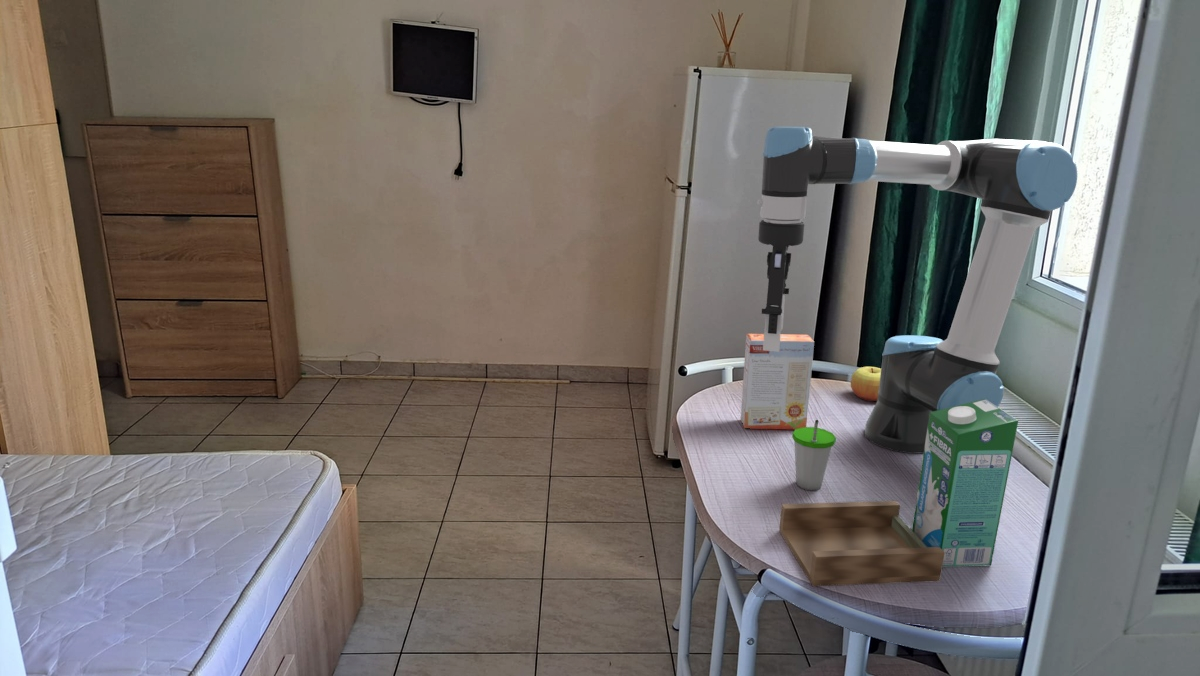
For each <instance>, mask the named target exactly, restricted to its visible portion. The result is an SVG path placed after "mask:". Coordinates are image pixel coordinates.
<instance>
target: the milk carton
mask: <svg viewBox="0 0 1200 676" xmlns="http://www.w3.org/2000/svg"><path fill="white" fill-rule="evenodd" d="M1018 425H1019V420H1018V419H1017V418H1015V417H1013V416H1012V414H1009V413H1007V412H1006V411H1005V410H1003V409H1001V408H1000V407H999V406H998V407H997V406H995V405H994V404H992V403H991V402H989V401H988V400H986V399H982V400H978V401H974V402H970V403H966V404H962V405H958V406H954V407H950V408H946V409H942V410H938V411H933V412H930V415H929V422H928V428H927V435H926V441H925V448H924V452H923V453H922V454H923V455H922V461H921V469H920V474H919V481H918V487H917V494H916V501H915V507H914V515H913V520H912V527H911V530H912V531H913V532H914V533H915V534H916V535H917V537H918V538H919V539H920V540H921V541H922V542H923V543H924V544H925V545H926V546H927V547H940V548H941V549H942V550H943V551H944V552H945V553H944V559H943V565H942V568H951V567H952V568H953V567H954V568H955V567H982V566H983V567H985V566H986V567H989V566H991V565H992V561H993V558H994V557H993V556H994V551H995V546H996V542H997V540H996V539H997V535H998V531H999V526H1000V525H999V524H1000V520H1001V514H1002V509H1003V505H1004V498H1005V492H1006V488H1007V483H1008V479H1009V478H1008V477H1009V473H1010V472H1009V471H1010V467H1011V462H1012V456H1013V451H1014V450H1013V449H1014V445H1015V441H1016V434H1017V430H1018Z"/></svg>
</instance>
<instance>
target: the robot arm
mask: <svg viewBox="0 0 1200 676" xmlns="http://www.w3.org/2000/svg"><path fill="white" fill-rule="evenodd" d="M763 147H764V148H763V153H762V157H763V162H762V181H761V183H762V184H761V199H757V202H756V204H757V205H758V206H761V207H760V210H759V211H760V213H759V216H760V218H761V220H760V222H759V223H758V235H757V237H758V239H757V240H758V241H759V242H760V244H763V245H767V246H768V245H770V246H772V251H768V253H767V256H766V257H767V258H766V265H767V269H766V270H767V271H766V277H767V279H768V284H767V294H766V304H765V305H766V306H765V308H761V315H764V328H763V329H764V332H763V334H764V341H763V350H764V351H776V352H779V347H780V334H782V333H781V332H782V331H783V326H784V316H785V315H784V314H785V300H786V295H789V294H790V293H789V292H790V288H786V287H787V284H786V280H788V276H789V269H790V267H791V261H792V253H791V252H789V251H788V249H789V247H790V246H791V247H796V246H799V245H801V244H803V242H804V235H805V234H804V232H805V231H804V230H805V223H804V222H803V220H804V219H805V218H806V213H807V201H808V195H807V194H808V187H809V185H817V184H818V185H819V184H822V185H827V184H828V185H831V184H833V185H834V184H837V185H839V184H840V185H841V184H842V185H843V184H847V185H851V186H852V185H853V184H859V183H865V182H880V183H881V182H882V183H883V182H884V183H898V184H899V183H900V184H916V185H929V186H931V188H933V189H934V190H936V191H944V192H945V191H946V192H953V193H957V194H962V195H966V196H968V197H969V196H970V197H974V198H977V199H980V200H982V201H981V204H980V210H981V212H982V213H983V216H984V217H985V220H984V223H983V227H982V230H981V233H980V237H979V238H978V242H977V246H976V249H975V252H974V255H973V258H972V261H971V264H970V267H969V271H968V272H967V273H968V274H967V276H966V280H965V283H964V286H963V287H962V288H963V289H962V292H961V295H960V299H959V302H958V303H957V307H956V310H955V314H954V317H953V320H952V323H951V327H950V329H949V332H948V335H947V338H946V339H944V340H943V339H941V338H938V337H934V336H926V335H912V334H911V335H909V334H907V335H905V334H904V335H895V336H892V337H890V338H888V339H887V340H886V341H885V344H884V347H883V348H884V349H883V351H882V355H881V356H882V360H881V361H882V362H881V368H880V369H881V375H880V384H879V391H878V399H877V401H876V403H875V405H874V406H873V409H872V411H871V413H870V415H869V416H868V418H867V421H866V423H865V428H864V436H865V439H867V440H868V441H869V442H871V443H873V444H875V445H876V446H879V447H881V448H884V449H887V450H891V451H895V452H899V453H900V452H901V453H911V454H912V453H913V454H917V453H918V454H924V448H925V441H926V435H927V428H928V422H929V415H930V412H933V411H938V410H942V409H946V408H950V407H954V406H958V405H962V404H966V403H970V402H974V401H978V400H982V399H986V400H988V401H989V402H991V403H992V404H994V405H995V406H997V407H998V408H999V406H1000V405H1001V403H1002V400H1003V398H1004V394H1005V392H1004V391H1005V389H1004V388H1005V387H1004V385H1003V381H1002V380H1001V378H1000V377H999V375H997V372H998V369H999V365H1000V360H999V358H998V357H997V355H996V352H995V350H996V348H997V344H998V341H999V338H1000V335H1001V333H1002V329H1003V326H1004V323H1005V320H1006V318H1007V315H1008V312H1009V309H1010V306H1011V304H1012V303H1011V302H1012V301H1013V296H1014V294H1015V291H1016V287H1017V286H1018V281H1019V280H1020V276H1021V273H1022V270H1023V267H1024V265H1025V261H1026V258H1027V255H1028V253H1029V249H1030V246H1031V243H1032V241H1033V237H1034V234H1035V232H1036V230H1037V228H1039V227H1041V226H1042V225H1044V224H1046V223H1049V220H1050V216H1051V214H1052V211H1055V210H1058V209H1060V208H1062V207H1063V206H1064V205H1065V203H1067V202H1069V201H1070V199H1071V198H1072V196H1073V194H1074V193H1075V190H1076V188H1077V183H1078V168H1077V164H1076V162H1075V160H1074V158H1073V155H1072V153H1071V152H1070V151H1069V150H1068V149H1067V148H1066V147H1064V146H1062V145H1061V144H1058V143H1055V142H1048V141H1044V140H1037V139H1036V140H1027V139H1025V140H1023V139H1007V138H1006V139H1005V138H989V139H987V138H985V139H974V140H942V141H940V142H939V143H937V144H927V143H926V144H925V143H913V142H912V143H911V142H899V141H887V140H886V141H884V140H870V139H866V138H857V137H851V138H850V137H849V138H847V137H846V138H843V137H842V138H841V137H831V136H830V137H829V136H828V137H826V136H818V135H817V136H814V135H813V131H812V128H811V127H807V126H772V127H770V128H768V130H767V131H766V134H765V139H764V146H763Z"/></svg>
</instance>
